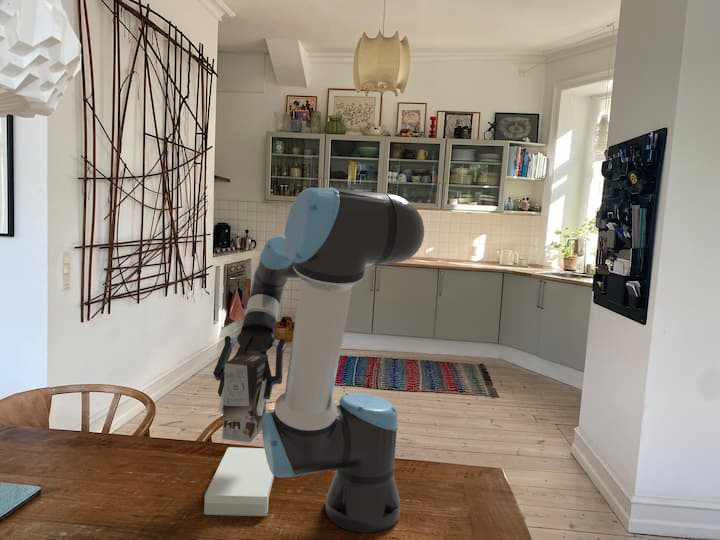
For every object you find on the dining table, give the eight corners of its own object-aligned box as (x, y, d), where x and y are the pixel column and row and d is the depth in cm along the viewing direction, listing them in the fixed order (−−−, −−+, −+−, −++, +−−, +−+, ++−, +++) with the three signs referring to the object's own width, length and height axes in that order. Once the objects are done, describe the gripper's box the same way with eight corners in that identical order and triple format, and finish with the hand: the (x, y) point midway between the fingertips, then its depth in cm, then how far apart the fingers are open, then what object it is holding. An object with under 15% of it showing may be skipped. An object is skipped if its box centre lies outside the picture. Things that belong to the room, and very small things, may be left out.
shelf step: (278, 465, 114) (279, 448, 114) (266, 516, 94) (267, 496, 94) (227, 463, 113) (228, 447, 113) (204, 514, 93) (204, 494, 93)
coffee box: (251, 443, 97) (253, 365, 96) (221, 439, 98) (223, 362, 97) (266, 425, 106) (269, 354, 105) (239, 422, 107) (241, 351, 106)
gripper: (304, 329, 116) (290, 422, 101) (221, 325, 116) (195, 416, 101) (302, 311, 110) (287, 406, 95) (215, 306, 110) (187, 401, 95)
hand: (240, 411), depth 98 cm, fingers closed on coffee box, 7 cm apart
